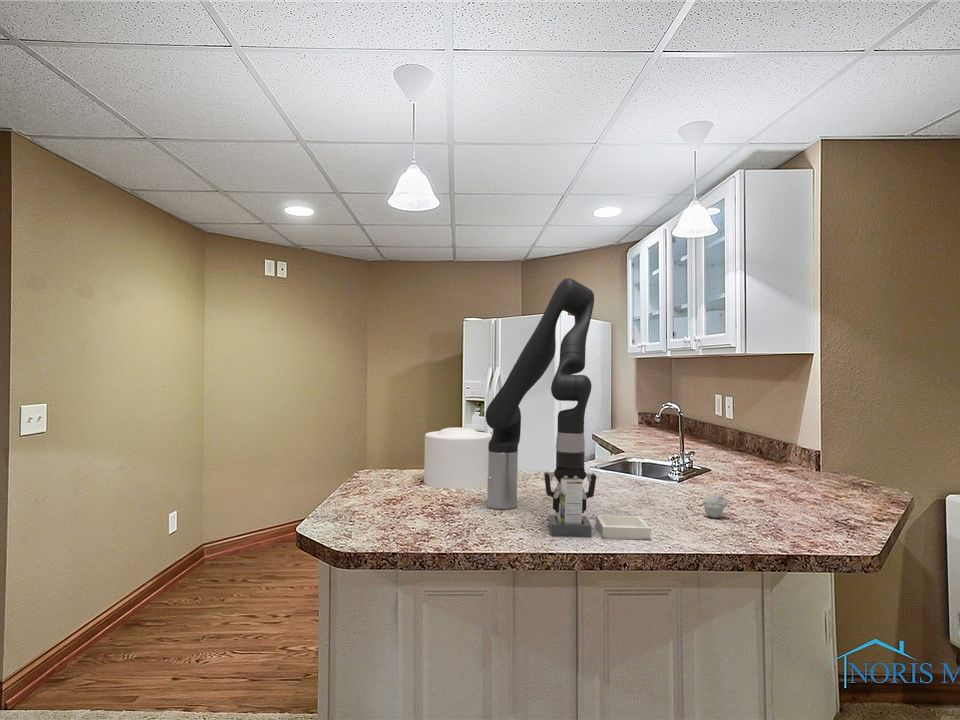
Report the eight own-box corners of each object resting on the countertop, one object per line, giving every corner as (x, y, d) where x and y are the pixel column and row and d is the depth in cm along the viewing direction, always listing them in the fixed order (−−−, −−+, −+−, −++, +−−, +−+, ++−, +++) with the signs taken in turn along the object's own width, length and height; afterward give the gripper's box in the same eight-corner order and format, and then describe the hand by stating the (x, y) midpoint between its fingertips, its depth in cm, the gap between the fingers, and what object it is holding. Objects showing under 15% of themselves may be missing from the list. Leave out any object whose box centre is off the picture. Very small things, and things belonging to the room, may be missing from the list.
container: (430, 474, 232) (431, 424, 232) (493, 477, 229) (494, 426, 230) (417, 487, 207) (418, 431, 207) (487, 490, 204) (488, 433, 205)
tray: (603, 538, 148) (603, 527, 148) (595, 525, 160) (595, 515, 160) (650, 540, 148) (650, 528, 148) (639, 527, 160) (639, 516, 160)
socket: (551, 536, 150) (551, 524, 150) (548, 525, 160) (548, 514, 160) (591, 537, 149) (591, 525, 149) (585, 526, 160) (585, 515, 160)
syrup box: (555, 528, 157) (556, 474, 157) (577, 528, 158) (578, 474, 158) (560, 534, 152) (561, 478, 152) (582, 534, 152) (583, 478, 152)
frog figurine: (728, 521, 168) (728, 497, 168) (702, 519, 170) (703, 495, 170) (726, 516, 174) (726, 492, 174) (701, 514, 176) (701, 491, 176)
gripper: (544, 450, 152) (543, 515, 151) (599, 452, 151) (598, 516, 151) (542, 446, 159) (541, 508, 159) (595, 448, 158) (594, 509, 158)
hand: (569, 512), depth 155 cm, fingers closed on syrup box, 6 cm apart
